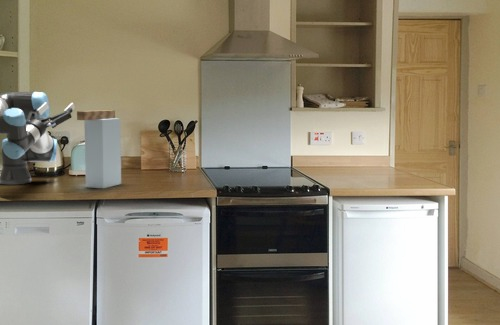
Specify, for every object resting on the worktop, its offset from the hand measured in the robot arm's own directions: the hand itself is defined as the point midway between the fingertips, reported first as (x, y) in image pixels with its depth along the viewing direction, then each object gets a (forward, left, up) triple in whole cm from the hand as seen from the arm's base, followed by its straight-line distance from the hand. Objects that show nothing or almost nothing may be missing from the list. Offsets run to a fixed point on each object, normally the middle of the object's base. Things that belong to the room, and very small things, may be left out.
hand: (60, 105), depth 253 cm
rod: (-12, +25, -7) cm, 29 cm away
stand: (-14, +30, -40) cm, 52 cm away
